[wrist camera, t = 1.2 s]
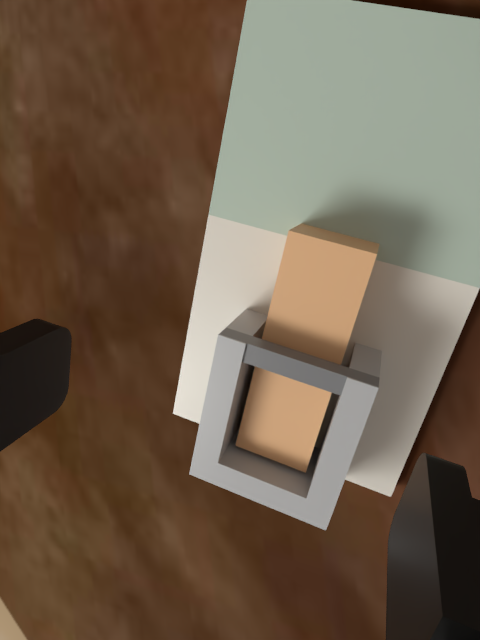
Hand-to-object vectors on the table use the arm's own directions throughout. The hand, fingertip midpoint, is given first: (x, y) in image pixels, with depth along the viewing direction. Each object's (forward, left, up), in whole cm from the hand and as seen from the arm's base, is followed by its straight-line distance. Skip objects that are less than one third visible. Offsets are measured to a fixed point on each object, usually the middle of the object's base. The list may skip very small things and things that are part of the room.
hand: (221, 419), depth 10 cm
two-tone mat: (0, 0, -16) cm, 16 cm away
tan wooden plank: (0, +4, -15) cm, 16 cm away
